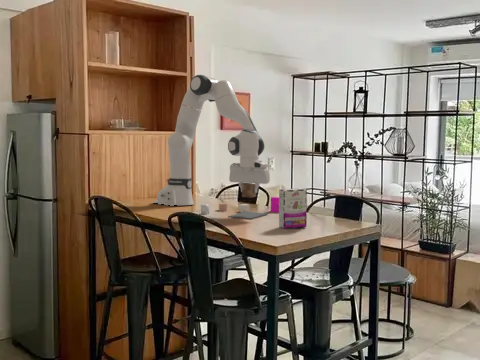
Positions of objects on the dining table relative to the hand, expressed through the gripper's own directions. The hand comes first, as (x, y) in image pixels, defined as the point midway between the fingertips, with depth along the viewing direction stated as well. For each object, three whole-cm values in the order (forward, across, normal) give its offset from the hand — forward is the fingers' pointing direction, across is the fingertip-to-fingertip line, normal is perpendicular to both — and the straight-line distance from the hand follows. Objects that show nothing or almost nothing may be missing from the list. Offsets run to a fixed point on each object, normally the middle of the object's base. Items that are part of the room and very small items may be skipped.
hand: (249, 192), depth 260 cm
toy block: (+12, +8, +27) cm, 31 cm away
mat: (+12, 0, 0) cm, 12 cm away
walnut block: (+2, 0, 0) cm, 2 cm away
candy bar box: (+12, +30, -18) cm, 36 cm away
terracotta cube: (+12, -19, +9) cm, 24 cm away
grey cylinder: (+11, -20, -7) cm, 24 cm away
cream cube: (+12, -8, +11) cm, 18 cm away
